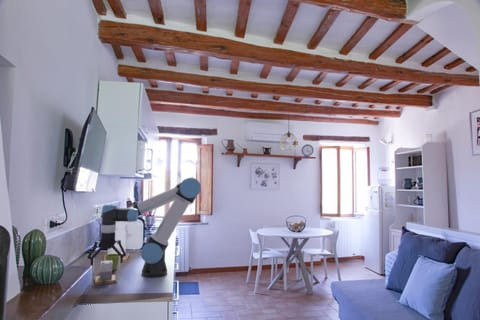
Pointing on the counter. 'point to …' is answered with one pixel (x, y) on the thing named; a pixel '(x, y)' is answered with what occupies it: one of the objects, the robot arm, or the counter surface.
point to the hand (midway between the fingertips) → (106, 270)
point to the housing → (106, 270)
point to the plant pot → (113, 259)
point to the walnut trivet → (98, 281)
